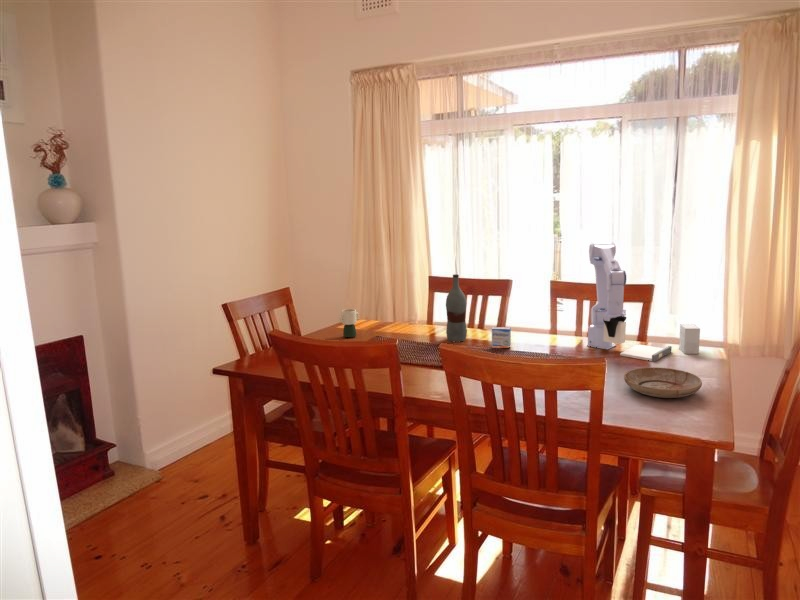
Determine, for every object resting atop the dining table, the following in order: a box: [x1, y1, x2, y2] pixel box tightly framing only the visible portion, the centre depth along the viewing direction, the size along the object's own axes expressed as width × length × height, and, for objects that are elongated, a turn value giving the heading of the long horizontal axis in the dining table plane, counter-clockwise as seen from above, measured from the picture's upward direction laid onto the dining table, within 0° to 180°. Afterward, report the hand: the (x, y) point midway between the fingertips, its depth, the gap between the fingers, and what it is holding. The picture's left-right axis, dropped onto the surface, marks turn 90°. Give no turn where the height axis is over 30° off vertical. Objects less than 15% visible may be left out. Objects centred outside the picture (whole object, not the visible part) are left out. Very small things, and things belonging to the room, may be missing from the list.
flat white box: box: [620, 344, 672, 362], centre depth 241 cm, size 14×17×2 cm
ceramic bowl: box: [623, 367, 703, 399], centre depth 198 cm, size 23×24×5 cm
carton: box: [603, 321, 627, 345], centre depth 235 cm, size 4×7×8 cm, turn 45°
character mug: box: [338, 308, 360, 338], centre depth 284 cm, size 11×7×13 cm, turn 127°
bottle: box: [445, 273, 468, 343], centre depth 270 cm, size 9×9×30 cm
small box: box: [678, 323, 701, 355], centre depth 242 cm, size 8×6×10 cm
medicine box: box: [491, 326, 512, 346], centre depth 257 cm, size 8×4×9 cm, turn 76°
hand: (614, 335), depth 236 cm, fingers closed on carton, 4 cm apart
